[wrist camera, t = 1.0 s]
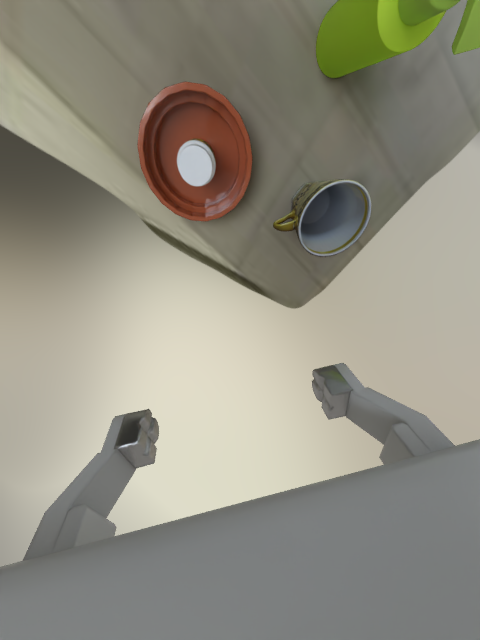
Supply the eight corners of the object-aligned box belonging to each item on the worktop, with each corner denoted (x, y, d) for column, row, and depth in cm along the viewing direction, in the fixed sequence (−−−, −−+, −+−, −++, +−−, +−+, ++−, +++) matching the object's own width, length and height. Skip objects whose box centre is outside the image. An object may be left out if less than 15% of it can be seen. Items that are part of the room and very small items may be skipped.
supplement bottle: (220, 151, 31) (223, 158, 25) (207, 185, 34) (206, 198, 28) (188, 129, 29) (183, 130, 23) (176, 166, 32) (168, 176, 26)
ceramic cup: (344, 164, 34) (382, 174, 27) (333, 229, 41) (360, 251, 33) (262, 176, 34) (276, 189, 27) (264, 239, 41) (276, 264, 33)
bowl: (210, 56, 26) (210, 44, 22) (263, 178, 34) (269, 184, 31) (123, 136, 30) (111, 137, 26) (191, 227, 38) (188, 239, 34)
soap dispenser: (315, 95, 29) (427, 62, 14) (316, 7, 24) (485, -181, 9) (360, 82, 28) (525, 34, 14) (370, -9, 24) (636, -234, 9)
